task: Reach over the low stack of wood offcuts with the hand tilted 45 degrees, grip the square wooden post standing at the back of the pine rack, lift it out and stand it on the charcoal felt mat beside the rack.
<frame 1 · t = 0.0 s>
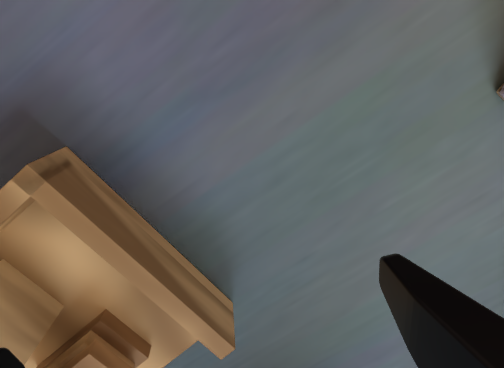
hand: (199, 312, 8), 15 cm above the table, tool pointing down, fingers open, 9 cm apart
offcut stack: (92, 357, 25), resting on pine rack
pine rack: (58, 315, 25), on the table
square wooden post: (14, 300, 23), point 1 cm above the table, touching pine rack
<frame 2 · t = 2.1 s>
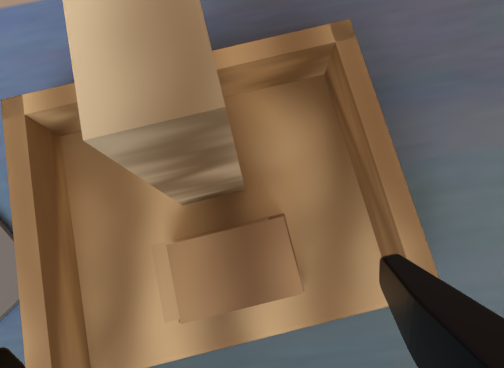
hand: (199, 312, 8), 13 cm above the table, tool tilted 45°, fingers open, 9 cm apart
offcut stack: (229, 267, 20), resting on pine rack
pine rack: (218, 208, 22), on the table
square wooden post: (205, 159, 22), point 1 cm above the table, touching pine rack
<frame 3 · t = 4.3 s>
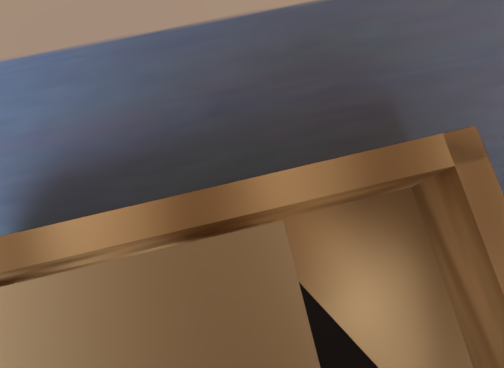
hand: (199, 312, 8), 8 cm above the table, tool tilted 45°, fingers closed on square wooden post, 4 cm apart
square wooden post: (233, 324, 14), point 1 cm above the table, touching gripper, pine rack
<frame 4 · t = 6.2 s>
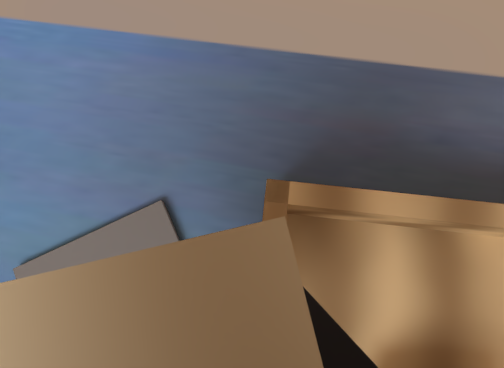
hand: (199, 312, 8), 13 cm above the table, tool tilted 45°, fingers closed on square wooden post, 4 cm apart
pine rack: (420, 347, 20), on the table
square wooden post: (234, 323, 14), point 7 cm above the table, touching gripper
felt mat: (119, 308, 21), on the table
when the fingers open (8 cm above the table, at t = 8.0 s): square wooden post drops 1 cm, resting on felt mat.
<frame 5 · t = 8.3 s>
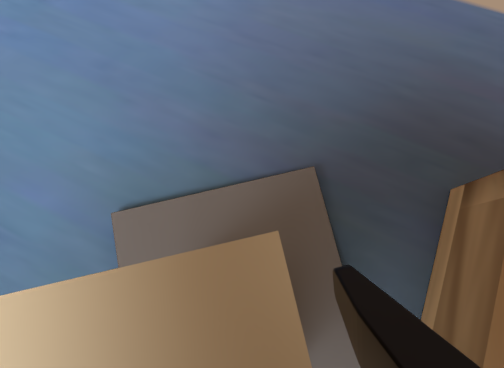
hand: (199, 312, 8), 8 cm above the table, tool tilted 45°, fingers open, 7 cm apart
square wooden post: (236, 319, 15), resting on felt mat
felt mat: (236, 294, 16), on the table
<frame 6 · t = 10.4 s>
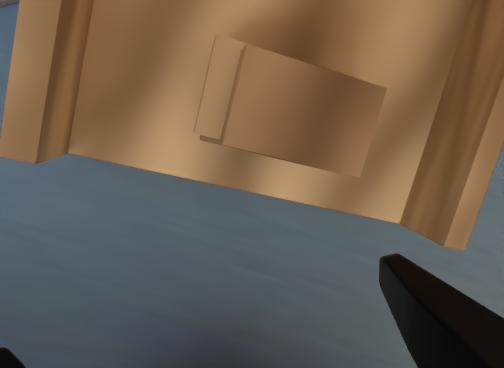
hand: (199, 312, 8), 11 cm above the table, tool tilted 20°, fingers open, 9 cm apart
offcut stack: (273, 110, 17), resting on pine rack
pine rack: (286, 37, 18), on the table
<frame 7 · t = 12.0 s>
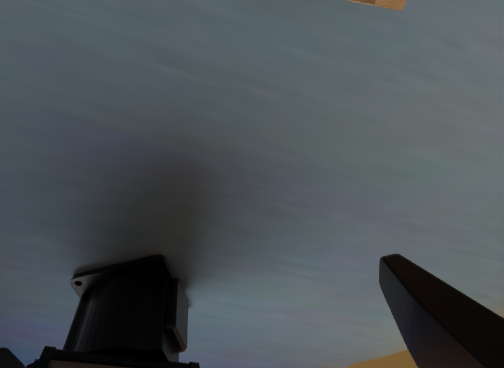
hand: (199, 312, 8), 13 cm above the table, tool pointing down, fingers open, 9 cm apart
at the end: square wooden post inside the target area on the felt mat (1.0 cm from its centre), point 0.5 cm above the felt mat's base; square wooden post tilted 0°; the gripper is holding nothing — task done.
